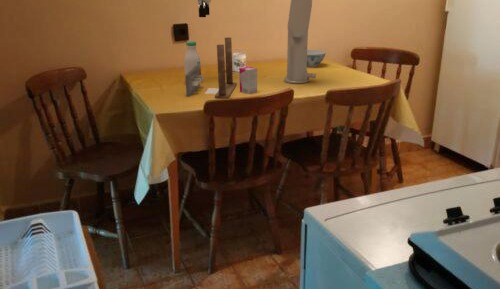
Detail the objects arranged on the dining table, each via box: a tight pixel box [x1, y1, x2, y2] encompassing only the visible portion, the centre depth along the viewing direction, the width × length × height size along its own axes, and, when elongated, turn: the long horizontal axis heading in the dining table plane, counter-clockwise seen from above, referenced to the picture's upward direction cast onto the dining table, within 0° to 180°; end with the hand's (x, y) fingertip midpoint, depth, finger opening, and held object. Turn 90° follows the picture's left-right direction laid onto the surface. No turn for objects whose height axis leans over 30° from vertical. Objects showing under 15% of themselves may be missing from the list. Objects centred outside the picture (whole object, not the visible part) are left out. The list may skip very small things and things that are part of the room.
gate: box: [214, 37, 238, 99], centre depth 198 cm, size 6×24×22 cm, turn 174°
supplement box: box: [238, 66, 258, 95], centre depth 199 cm, size 6×6×12 cm
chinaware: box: [307, 49, 326, 68], centre depth 254 cm, size 15×15×8 cm
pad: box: [204, 87, 219, 95], centre depth 202 cm, size 10×10×1 cm
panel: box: [184, 66, 204, 98], centre depth 202 cm, size 4×20×10 cm, turn 174°
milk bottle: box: [183, 40, 202, 82], centre depth 216 cm, size 8×8×20 cm
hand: (204, 16), depth 215 cm, fingers open, 9 cm apart
